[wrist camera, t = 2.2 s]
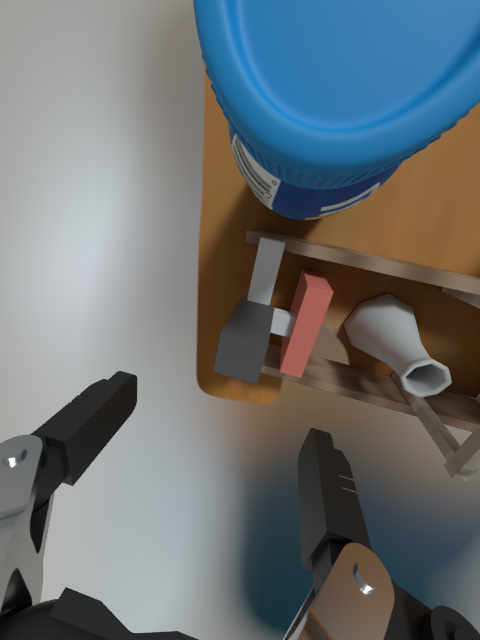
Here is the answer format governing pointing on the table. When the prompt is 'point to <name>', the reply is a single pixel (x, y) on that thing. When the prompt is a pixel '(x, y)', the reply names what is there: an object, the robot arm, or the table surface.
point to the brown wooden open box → (388, 389)
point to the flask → (396, 344)
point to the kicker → (272, 320)
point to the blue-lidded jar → (336, 90)
